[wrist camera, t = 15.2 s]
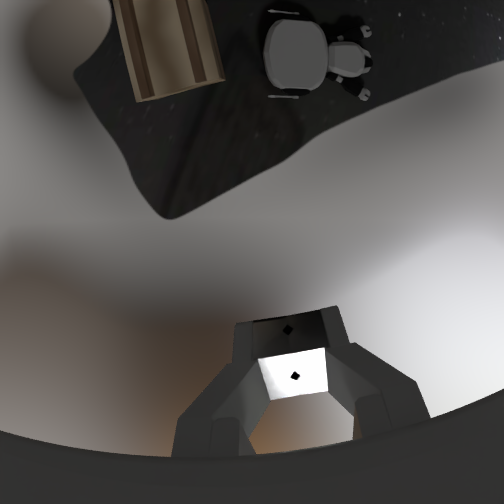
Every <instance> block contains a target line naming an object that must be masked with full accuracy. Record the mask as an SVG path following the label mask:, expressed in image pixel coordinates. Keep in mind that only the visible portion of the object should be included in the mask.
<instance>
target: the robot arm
mask: <svg viewBox="0 0 504 504" xmlns="http://www.w3.org/2000/svg"><path fill="white" fill-rule="evenodd" d="M322 391H328V392H329V393H330V394H331V395H332V396H333V397H334V398H335V399H336V400H337V401H338V402H339V403H340V404H341V405H342V406H343V407H344V408H345V409H346V410H347V411H348V412H349V413H351V415H353V416H354V428H353V440H350V441H346V442H341V443H336V444H331V445H325V446H320V447H313V448H307V449H300V450H294V451H286V452H278V453H268V454H256V453H255V451H254V449H253V447H252V445H251V443H250V441H249V439H248V438H249V436H250V435H251V433H252V432H253V430H254V428H255V427H256V425H257V423H258V422H259V420H260V418H261V417H262V415H263V413H264V411H265V410H266V408H267V407H268V405H269V403H270V400H273V399H279V398H284V397H290V396H295V395H302V394H309V393H316V392H322ZM0 504H504V389H502V390H500V391H498V392H496V393H494V394H491V395H489V396H487V397H485V398H482V399H480V400H478V401H475V402H473V403H470V404H468V405H465V406H463V407H461V408H458V409H455V410H453V411H450V412H447V413H445V414H442V415H439V416H436V417H433V418H430V415H429V413H428V410H427V407H426V405H425V402H424V400H423V397H422V395H421V392H420V390H419V388H418V385H417V383H416V381H414V380H413V379H411V378H410V377H408V376H406V375H405V374H403V373H402V372H400V371H398V370H397V369H395V368H394V367H392V366H391V365H389V364H388V363H386V362H385V361H383V360H381V359H380V358H378V357H377V356H375V355H374V354H372V353H371V352H369V351H367V350H366V349H364V348H363V347H361V346H360V345H358V344H357V343H350V342H349V339H348V336H347V333H346V330H345V327H344V323H343V321H342V317H341V314H340V311H339V308H338V307H337V306H331V307H327V308H322V309H320V310H315V311H310V312H304V313H299V314H294V315H288V316H281V317H274V318H268V319H261V320H254V321H248V322H241V323H236V325H235V330H234V343H233V357H232V363H230V364H227V365H226V366H225V367H224V368H223V369H222V370H221V371H220V373H219V374H218V375H217V376H216V377H215V378H214V379H213V381H212V382H211V383H210V384H209V385H208V386H207V387H206V388H205V390H204V391H203V392H202V393H201V394H200V395H199V396H198V397H197V398H196V400H195V401H194V402H193V403H192V404H191V405H190V406H189V407H188V408H187V409H186V410H185V412H184V413H183V414H182V415H181V416H180V417H179V418H178V421H177V426H176V432H175V438H174V443H173V449H172V455H171V457H158V456H141V455H128V454H118V453H109V452H100V451H93V450H85V449H79V448H73V447H68V446H62V445H57V444H52V443H47V442H43V441H38V440H33V439H30V438H25V437H22V436H18V435H14V434H11V433H7V432H3V431H0Z"/></svg>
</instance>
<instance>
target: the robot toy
mask: <svg viewBox="0 0 504 504" xmlns="http://www.w3.org/2000/svg"><path fill="white" fill-rule="evenodd" d="M268 11H269V12H277V13H286V14H290V15H286V16H284V17H283V18H282V19H281V20H278V21H276V22H275V23H274V24H273V25H272V26H271V28H270V29H269V31H268V33H267V36H266V39H265V43H264V49H263V59H264V65H265V70H266V73H267V76H268V78H269V80H270V81H271V83H272V84H273V85H274V86H276V87H278V88H280V89H281V91H282V92H283V93H285V94H287V95H290V96H275V95H269V96H268V97H288V98H297V99H298V96H303V95H306V94H309V92H310V90H312V89H315V88H317V87H318V86H319V85H320V84H321V83H322V82H323V79H324V77H325V74H326V71H327V72H328V73H327V75H326V78H328V79H330V80H332V81H335V80H337V81H338V82H340V83H341V85H342V86H343V88H344V89H345V90H346V91H348V92H349V93H351V94H353V95H354V96H359V98H360V99H361V100H364V101H366V100H368V98H367V97H366V96H364V95H365V94H366V95H368V96H370V91H369V90H368V89H367V88H363V86H362V85H360V84H359V83H357V82H355V81H354V80H352V79H346V78H341V77H340V76H342V77H356V76H359V75H360V74H362V73H366V72H368V71H369V70H370V68H371V66H372V65H373V61H372V59H370V57H371V56H370V54H369V52H368V51H366V50H364V49H363V48H361V47H360V46H359V45H358V44H356V43H354V42H353V41H357V40H360V39H363V38H364V37H369V36H371V31H369V32H366V30H369V29H370V28H369V27H368V26H361V27H355V28H351V29H347V30H346V31H345V32H344V33H343V34H342V35H341V36H338V37H337V36H335V35H333V36H329V37H327V38H325V35H324V32H323V30H322V29H321V28H320V26H319V25H318V24H316V23H314V22H312V21H311V20H310V18H308V17H305V16H303V15H299V13H297V12H294V13H291V12H284V11H276V10H268ZM326 39H327V41H326ZM342 40H344V41H350V42H339V41H342ZM327 42H328V45H327ZM364 67H368V68H364Z"/></svg>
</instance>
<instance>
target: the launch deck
mask: <svg viewBox="0 0 504 504" xmlns="http://www.w3.org/2000/svg"><path fill="white" fill-rule="evenodd" d="M113 3H114V8H115V13H116V18H117V23H118V27H119V32H120V37H121V41H122V45H123V50H124V54H125V58H126V62H127V67H128V71H129V75H130V79H131V83H132V87H133V91H134V94H135V98H136V102H141V101H147V100H154V99H159V98H162V97H166V96H169V95H172V94H176V93H179V92H183V91H186V90H190V89H193V88H197V87H201V86H205V85H209V84H213V83H217V82H221V81H225V80H226V78H225V74H224V70H223V65H222V61H221V57H220V53H219V49H218V45H217V41H216V37H215V33H214V29H213V24H212V20H211V16H210V12H209V8H208V5H207V3H206V1H205V0H113Z"/></svg>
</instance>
